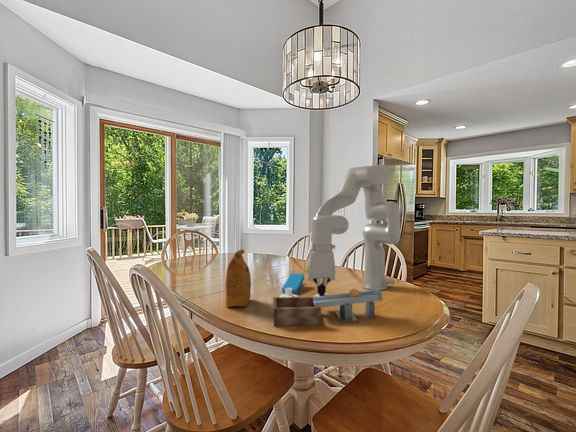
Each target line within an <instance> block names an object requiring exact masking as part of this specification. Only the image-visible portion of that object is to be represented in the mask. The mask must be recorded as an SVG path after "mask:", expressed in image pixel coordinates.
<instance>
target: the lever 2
mask: <svg viewBox="0 0 576 432" xmlns="http://www.w3.org/2000/svg"><path fill="white" fill-rule="evenodd" d="M312 297H313V303H314V305H315V307H321V309H322V308H328V307H330V308H331V307H336V306H339V307H340V305H345V304H352V305H354V304H361V303H363V304H364V303H366V302H372V301H373V302H379V301H381V302H382V301H383V293H382V290H378V289H377V288H376V287H373V290H370V289H369V290H363V291H359V297H354V298H352V297H351V296H350V292H346V293H337V294H328V293H327V292H326V293H324V296H320V295H319V293H317V294H314V296H312Z"/></svg>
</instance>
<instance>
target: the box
mask: <svg viewBox="0 0 576 432" xmlns="http://www.w3.org/2000/svg"><path fill="white" fill-rule="evenodd" d="M313 297H314V296H298V297H295V296H292V297H285V296H283V297H280V296H278V297H277V296H276V297H274V296H273V299H272V300H273V302H272V303H273V327H298V326H299V327H303V326H307V327H308V326H309V327H311V326H312V327H313V326H322V308H321V307H315V305H314V303H313Z"/></svg>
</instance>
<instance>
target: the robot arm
mask: <svg viewBox="0 0 576 432" xmlns="http://www.w3.org/2000/svg"><path fill="white" fill-rule="evenodd" d="M391 177H392V170H391V167H389V165H387V164H375V165H366V166H364V165H363V166H356V167H351V168H349V169H348V170H346V173H345V175H344V177H343V179H342V181H341V182H340V185H339V187H338V190H337V192H336V193H334V194H333V195H332V196H330V197H329V198H328V199H326V200H325V202H324V203H322V205H321V206H320V207H319V209H318V211H317V213H316V215H315V216H313V217H312V221H311V222H312V223H311V226H312V227H311V250H310V251H309V255H308V263H307V274H308V275H307V281H310V282H314V283H315V284H316V285H317V286H316V287H317V291H316V292H317V294H319V295H320V296H324V294H325V293H327V290H326V287H327V285H328V284H329V282H333V281H336V264H335V263H336V262H335V261H336V260H335V255H334V254H335V253H334V251H333V249H335V250H336V245H335V244H333V242H332V239H333V238H332V236H333V235H342V234H345V233H346V232H347V231H348V230H349V221H348V219H347V218H346V217H345V216H342V215H333V214H334V213H335V212H337V211H339V210H341V209H344V208H347V207H348V206H351V205H353V204H354V203H356V201H357V198H358V195H359V193H360V191H361V189H362V190H363V194H364V208H365V209H364V210H365V217H366V219H367V220H369V221H374V222H386V223H373V222H371V223H368V224H366V225H365V226H364V227H363V229H362V230H363V231H362V235H363V237H362V238H363V243H364V281H363V282H362V283H361V287H362V288H363V289H367V290H369V291H370V290H373V287H376V288H377V289H378V290H380V291H385V290H387V289H389V285H388V284H391V285H392V284H395V279H390V278H386V277H385V276H386V275H385V274H386V271H385V270H386V268H385V266H386V252H385V251H386V250H385V248H384V246H383V245H382V244H385V245H396V244H398V243H399V241H400V240H401V212H400V211H401V210H400V207H399V205H398V204H397V202H395V201H390V200H389V201H386V200H384V194H383V188H382V187H381V186H380V185H384V184H387V183H388V182H389V181H390V180H391ZM321 279H322V282H321Z"/></svg>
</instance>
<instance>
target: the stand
mask: <svg viewBox="0 0 576 432" xmlns="http://www.w3.org/2000/svg"><path fill="white" fill-rule="evenodd" d="M375 304H376V303H375V301H372V302H365V315H366V317H367V318H368V319H375V315H376V313H375V311H376V310H375V307H376V305H375ZM334 313H335V315H336V317H337V318H338V320H339V322H340V323H358V322H359V320H358V318H357V317H356V316H355V315H354V313H353V304H345V305H339V309H335V310H334Z"/></svg>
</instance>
